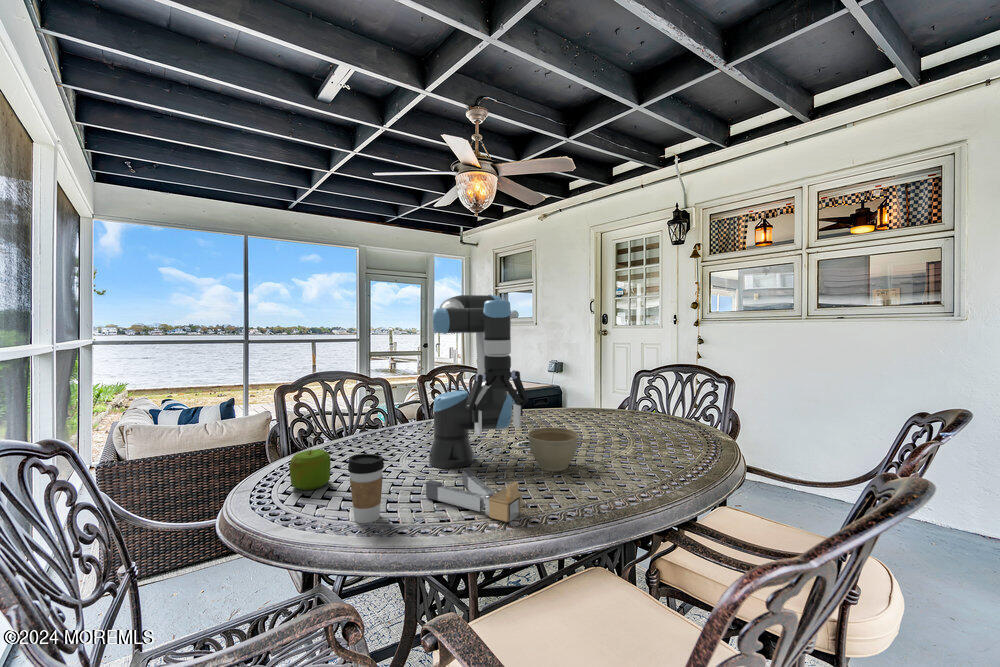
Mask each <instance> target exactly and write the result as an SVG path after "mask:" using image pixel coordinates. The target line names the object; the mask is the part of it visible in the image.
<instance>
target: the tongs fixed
mask: <svg viewBox="0 0 1000 667" xmlns="http://www.w3.org/2000/svg"><path fill="white" fill-rule="evenodd" d="M496 493H497V492H495V493H494V494H496ZM494 494H487V495H485V504H484V495H481V494H477V493H473V492H471V491H469V490H465V489H460V488H456V487H453V486H448V485H443V482H441V481H436V480H434V479H430V480H427V481H425V497H426V498H427V499H430V500H435V501H437V502H441V503H446V504H449V505H453V506H457V507H461V508H464V509H468V510H472V511H475V512H483V510H484V511H485V512H484V514H485V515H484V516H488V517H489V498H490V497H491V496H493V495H494ZM519 513H520V512H519V499H515V500H514V501H513V502H511V503H510V504H509V521H508V522H511V521H513V520H514V519H516V517H518V516H520V514H519Z"/></svg>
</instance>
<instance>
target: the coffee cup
mask: <svg viewBox="0 0 1000 667" xmlns="http://www.w3.org/2000/svg"><path fill="white" fill-rule="evenodd" d="M384 467H385V462H384V457H383V456H382V455H379V454H374V453H360V454H359V453H358V454H353V455H351V456H349V458H348V465H347V471H348V472H349V476H350V477H349V484H350V492H351V502H352V509H353V518H354V521H355V522H356V523H357V524H370V523H373V522H375V521H377V520H379V519H380V515H381V504H382V503H381V502H382V492H383V491H382V489H383V479H384V478H383V477H384V476H383V469H384Z"/></svg>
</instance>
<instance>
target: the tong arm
mask: <svg viewBox="0 0 1000 667" xmlns="http://www.w3.org/2000/svg"><path fill="white" fill-rule="evenodd" d="M462 486H464V487H465V488H466V489H467V491H469V492H473V493H477V494H481V495H484V505H485V495H487V494H494V493H496V492H495V491H494V490H493V489H492V488H490V487H489V486H487V485H486V484H485V483H484V482H483V481H481V480H480V479H479V478H478V477H477V476H475V474H474V472H472V471H471V470H470V469H469V468H467V469H462Z"/></svg>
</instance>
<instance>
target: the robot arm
mask: <svg viewBox="0 0 1000 667" xmlns="http://www.w3.org/2000/svg"><path fill="white" fill-rule="evenodd" d="M511 314H512V311H511V302H510V301H509V300H504V299H502V297H501V296H500V295H497V294H496V295H495V294H488V295H481V294H479V295H478V294H477V295H476V294H475V295H473V294H471V295H469V294H468V295H467V294H464V295H461V294H460V295H455V296H452V297H449V298H447V299H445V300H444V301H442V303H441V304H440V306H439V308H434V309H433V311H432V330H433V332H434V333H435V334H443V335H445V334H475V346H476V348H475V349H476V366H477V367H476V368H477V369H476V370H477V373H475V374H474V377H473V378H474V380H473V384H472V387H471V390H470V392H468V390H454V391H448V392H444V393H443V392H442V393H440V394H438V395H436V396H435V398H434V400H433V409H432V412H433V441H432V445H431V449H430V452H429V454H428V455H429V456H428V464H430V466H432V467H435V468H439V469H458V468H465V467H467V466H470V465H471V464H473V463H475V462H474V461H475V453H474V451H473V448H472V445H471V441H470V438H469V436H470V435H469V433H470V432H469V431H474V433H475V434H477V435H479V436H482V435H483V430H484V431H486V430H496V431H497V430H504V429H508V428H509V427H510V426H511V422H512V425H513V427H514V428H516V429H521V428H522V424H521V423H522V422H521V421H522V420H521V417H522V416H523V408H524V407H523V406H525V404H526V403H528V402H529V397H528V394H527V392H526V390H525V387H524V385H523V382H522V380H521V372H520V371H519V370H512V371H511V367H512V357H511V355H510V354H511V353H512V343H511V342H512V341H511V339H512V338H511V322H512V321H511V319H512V318H511V317H512V316H511ZM510 379H511V380H512V382H510V381H511V380H510ZM512 383H513V385H514V386H513V385H512ZM514 387H515V388H514ZM513 402H514V403H515V404H513ZM511 420H512V421H511Z"/></svg>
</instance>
